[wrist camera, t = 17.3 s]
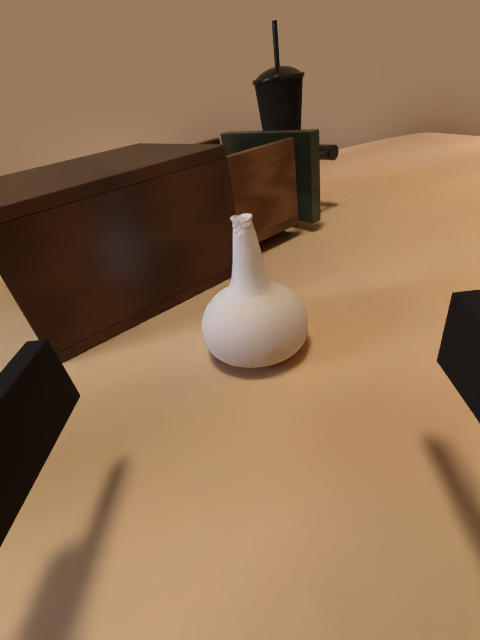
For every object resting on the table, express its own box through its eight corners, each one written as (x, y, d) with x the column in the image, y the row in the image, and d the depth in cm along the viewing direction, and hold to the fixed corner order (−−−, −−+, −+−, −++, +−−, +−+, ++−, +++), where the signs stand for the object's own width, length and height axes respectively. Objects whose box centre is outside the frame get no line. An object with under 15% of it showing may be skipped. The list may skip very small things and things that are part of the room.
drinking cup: (258, 173, 62) (242, 29, 51) (299, 165, 62) (293, 21, 51) (267, 182, 55) (252, 20, 44) (313, 173, 56) (309, 10, 45)
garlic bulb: (205, 387, 19) (167, 254, 15) (210, 323, 24) (183, 210, 20) (318, 373, 19) (315, 231, 14) (299, 310, 24) (292, 193, 20)
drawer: (274, 190, 48) (268, 121, 43) (358, 201, 38) (362, 116, 34) (129, 245, 38) (101, 163, 33) (196, 279, 28) (170, 173, 24)
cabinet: (165, 238, 41) (139, 143, 35) (244, 270, 30) (225, 144, 25) (15, 297, 33) (-50, 188, 27) (54, 366, 23) (-36, 215, 17)
